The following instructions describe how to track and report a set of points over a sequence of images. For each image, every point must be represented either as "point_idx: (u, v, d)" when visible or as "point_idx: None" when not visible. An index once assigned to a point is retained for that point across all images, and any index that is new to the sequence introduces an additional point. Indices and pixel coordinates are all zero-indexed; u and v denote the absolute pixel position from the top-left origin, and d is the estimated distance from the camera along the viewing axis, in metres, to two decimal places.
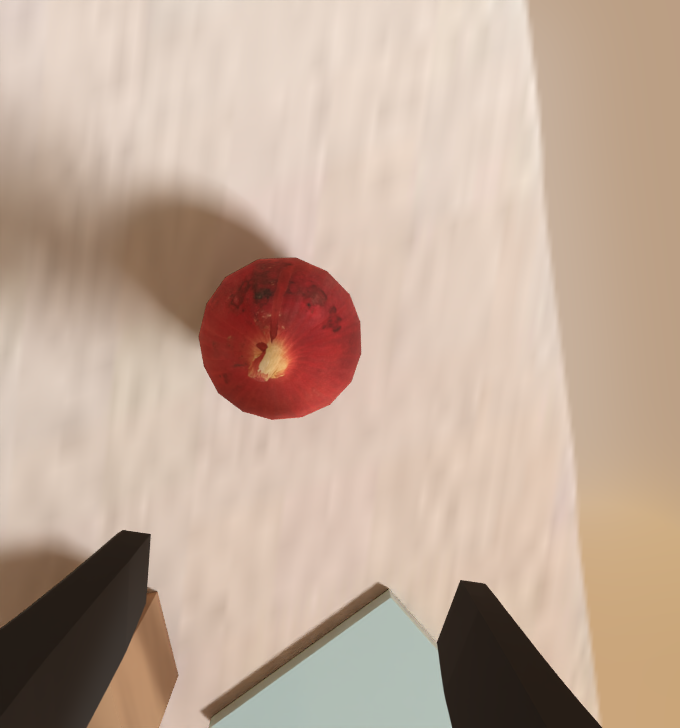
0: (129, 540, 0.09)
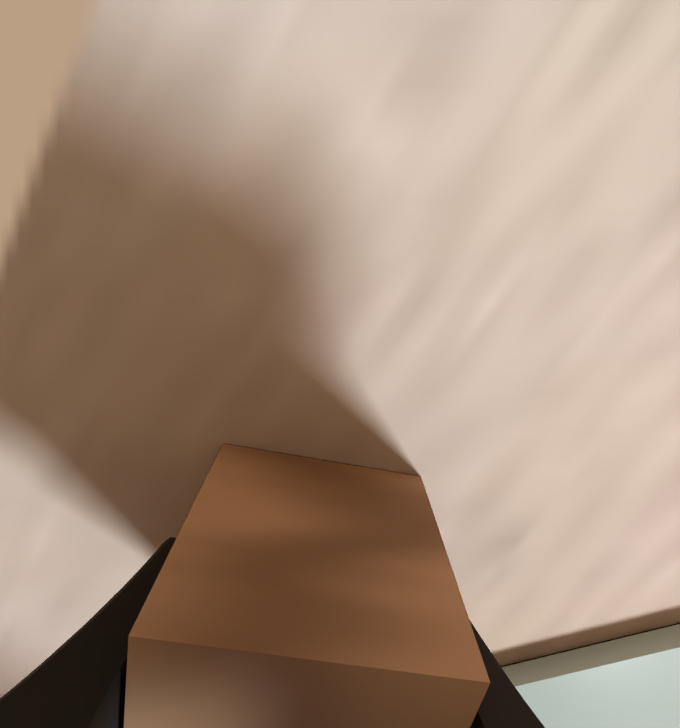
0: None
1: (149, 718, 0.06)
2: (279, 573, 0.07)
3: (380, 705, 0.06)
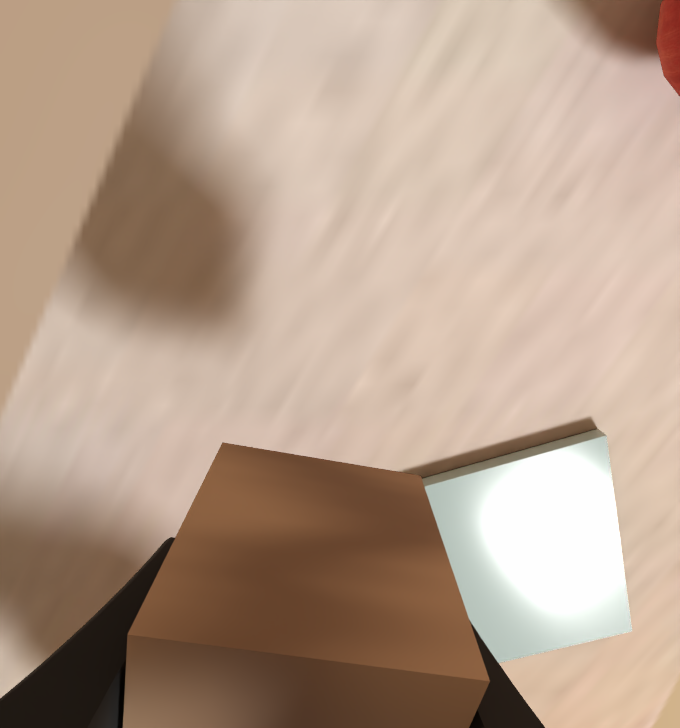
0: None
1: (149, 717, 0.06)
2: (278, 572, 0.07)
3: (379, 703, 0.06)
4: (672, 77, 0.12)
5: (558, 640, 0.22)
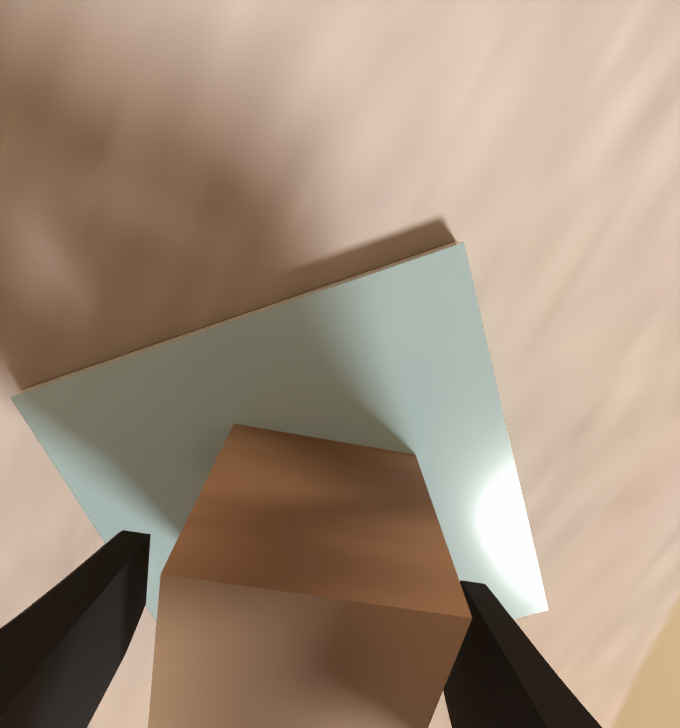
0: (128, 541, 0.09)
1: (176, 651, 0.07)
2: (288, 530, 0.08)
3: (376, 638, 0.07)
4: None
5: None
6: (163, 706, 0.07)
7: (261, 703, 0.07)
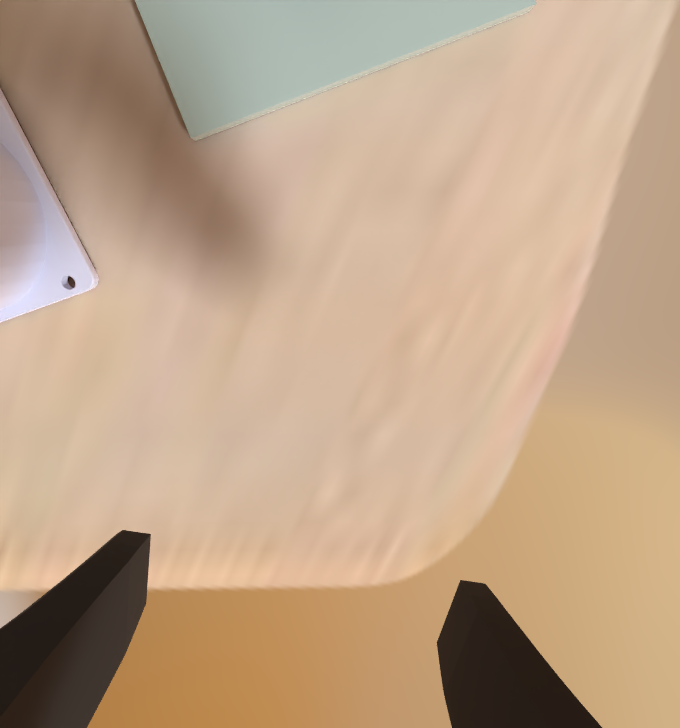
0: (129, 540, 0.09)
1: None
2: None
3: None
4: None
5: (418, 26, 0.13)
6: None
7: None
